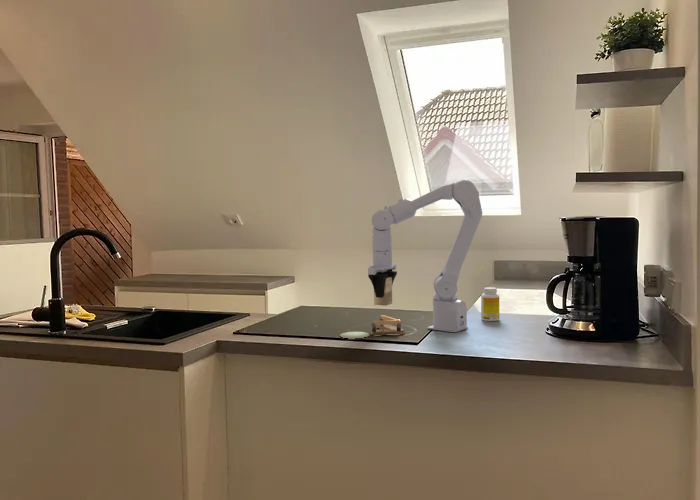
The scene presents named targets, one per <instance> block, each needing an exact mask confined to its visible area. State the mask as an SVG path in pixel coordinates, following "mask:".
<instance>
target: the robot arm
mask: <svg viewBox="0 0 700 500" xmlns="http://www.w3.org/2000/svg"><path fill="white" fill-rule="evenodd" d="M441 200H445V201H446V200H449V201H450V200H454V201H455V202H456V203H457V204H458V205H459V206H460V209H461V210H462V213H463V215H464V216H463V218H462V221H461V223H460V226H459V228H458V231H457V234H456V236H455V239H454V242H453V244H452V246H451V249H450V250H449V254H448V256H447V259H446V261H445V264H444V265H443V268H442V269H441V272H440V274H439V275H438V276H437V277H436V278H434V281H433V289H434V291H435V292H434V293H435V294H434V296H432V319H433V321H432V325H430V326H427V327H426V328H427V329H428V330H436V331H440V332H441V331H442V332H449V333H457V332H460V331H463V330H466V329H468V328H469V326H468V325H467V324H468V320H467V310H468V309H467V305H466V302H465V301H464V300H460V299H458V298H459V297H458V295H456V294H457V293H458V285H457V284H458V280H459V277H460V274H461V269H462V266H463V264H464V262H465V260H466V256H467V254H468V252H469V249H470V247H471V244H472V243H473V239H474V237H475V234H476V231H477V229H478V227H479V224H480V222H481V219H482V217H483V209H482V205H481V200H480V192H479V190H478V188H477V187H476V186H475V184H474V183H473V182H472V181H471V180H467V179H462V180H459V181H456V182H452V183H449V184H445V185H442V186H440V187H438V188H435V189H433V190H431V191H429V192H427V193H426V194H425V193H424V194H423V195H421V196H419V197H418V198H415V199H413V200H412V199H410V198H404V199H403V198H400V199H398V202H395V203H392V204H391V205H389V206H387V205H385V206H383V209H384V210H383V209H380V210H377V211H376V212H374V213H373V215H372V217H371V224H372V226H373V228H372V235H371V237H372V239H371V240H372V243H371V244H372V264H370V265H369V267H367V273H368V274H367V275H368V279H369V280H370V282H371V284H372V286H373V292H374V291H375V295H376V297H380V298H383V296H384V287H385V281H386V278H387V277H392V286H393V285H394V284H393V283H394V281H395V278H396V277H397V274H398V272H397V263H395V262H394V263H393V249H392V248H393V241H392V239H393V238H392V234H391V225H392V224H393V225H398V224H399V223H402V222H405V221H406V220H409V219H411V218H412V217H415V216H416V213H417V211H418V210H420V209H421V208H424V207H427V206H429V205H431V204H434V203H437V202H438V201H441Z"/></svg>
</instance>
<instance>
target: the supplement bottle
mask: <svg viewBox="0 0 700 500" xmlns="http://www.w3.org/2000/svg"><path fill="white" fill-rule="evenodd" d="M480 302H481V303H480V304H481V307H480V308H481V309H480V311H481V314H480V315H481V320H483V321H484V322H497V321H499V320H500V294H499V293H498V289H497V287H493V286H492V287H490V286H488V287H484V288H483V293H482V294H481V298H480Z"/></svg>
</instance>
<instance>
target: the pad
mask: <svg viewBox="0 0 700 500" xmlns="http://www.w3.org/2000/svg"><path fill="white" fill-rule="evenodd" d="M339 336H341V337H343V338H342V339H344V338H348V339H347V340H356V339H355V338H363V339H365V338H364V337H367V336H369V337H370V333H369V332H365V331H346V332H342V333H341V334H339ZM341 337H340V338H341ZM367 338H368V337H367Z"/></svg>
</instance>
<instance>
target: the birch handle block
mask: <svg viewBox="0 0 700 500" xmlns="http://www.w3.org/2000/svg"><path fill="white" fill-rule="evenodd" d="M373 301H374V306H385V307H386V306H390V305H392V304H393V285H392V277H387V278H386V281H385V287H384V296H383V298H380V297H376V295H375V291H374V290H373Z"/></svg>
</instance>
